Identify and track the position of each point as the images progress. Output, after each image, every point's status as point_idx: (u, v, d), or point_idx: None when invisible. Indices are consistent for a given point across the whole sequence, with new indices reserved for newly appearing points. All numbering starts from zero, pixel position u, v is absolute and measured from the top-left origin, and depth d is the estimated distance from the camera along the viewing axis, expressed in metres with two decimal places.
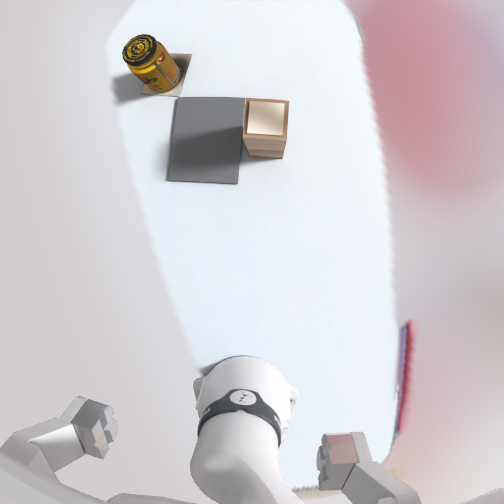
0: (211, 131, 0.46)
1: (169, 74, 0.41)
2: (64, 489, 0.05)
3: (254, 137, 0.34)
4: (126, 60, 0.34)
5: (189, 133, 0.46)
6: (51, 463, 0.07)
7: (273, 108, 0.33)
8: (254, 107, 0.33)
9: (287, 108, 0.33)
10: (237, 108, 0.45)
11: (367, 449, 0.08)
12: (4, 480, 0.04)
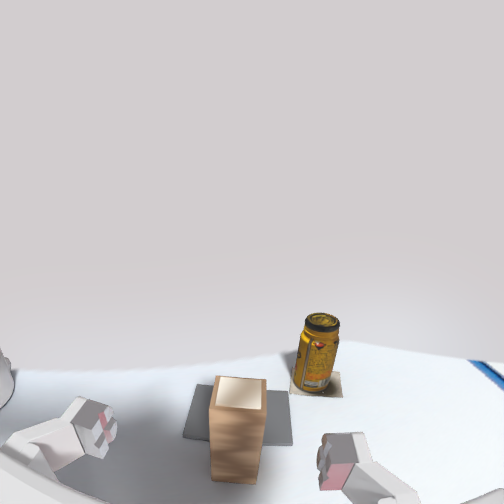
0: None
1: (308, 369, 0.44)
2: (64, 489, 0.05)
3: (215, 384, 0.28)
4: (309, 315, 0.46)
5: None
6: (51, 463, 0.07)
7: (252, 397, 0.26)
8: (253, 383, 0.28)
9: (254, 411, 0.24)
10: (277, 437, 0.35)
11: (367, 449, 0.08)
12: (4, 480, 0.04)
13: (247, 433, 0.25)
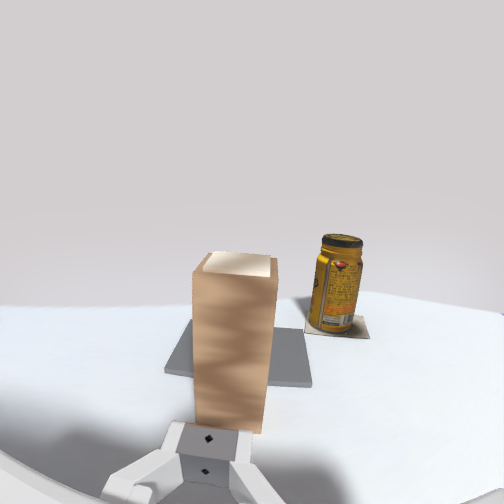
0: None
1: (327, 299, 0.37)
2: (64, 489, 0.05)
3: (206, 258, 0.22)
4: (326, 234, 0.39)
5: None
6: None
7: (258, 265, 0.19)
8: (258, 256, 0.22)
9: (260, 278, 0.18)
10: (291, 375, 0.28)
11: (249, 449, 0.09)
12: (4, 480, 0.04)
13: (249, 324, 0.19)
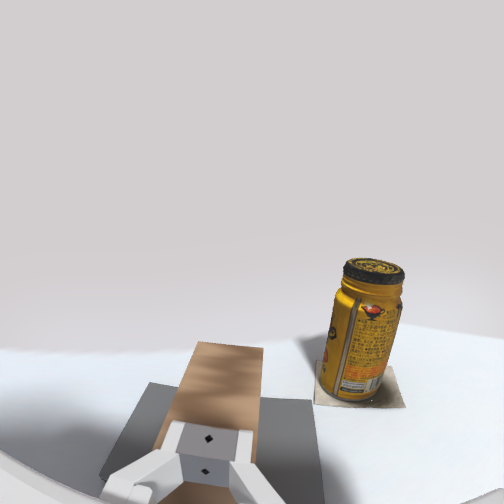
0: None
1: (349, 360, 0.23)
2: (64, 489, 0.05)
3: None
4: (350, 259, 0.26)
5: None
6: None
7: None
8: None
9: None
10: (293, 495, 0.14)
11: (249, 449, 0.09)
12: (4, 480, 0.04)
13: (239, 368, 0.20)
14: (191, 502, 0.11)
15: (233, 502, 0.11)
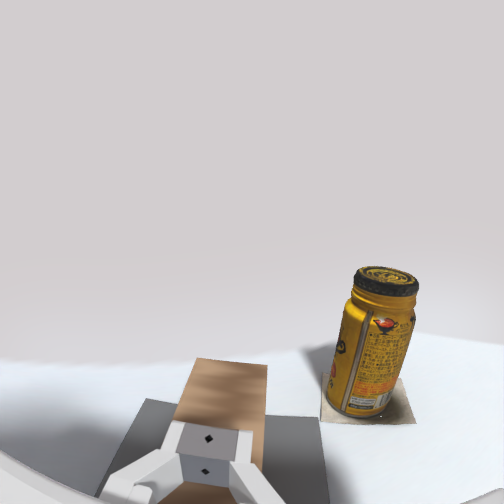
0: None
1: (359, 375, 0.21)
2: (64, 489, 0.05)
3: None
4: (360, 268, 0.24)
5: None
6: None
7: None
8: None
9: None
10: None
11: (249, 449, 0.09)
12: (4, 480, 0.04)
13: (242, 389, 0.18)
14: None
15: None
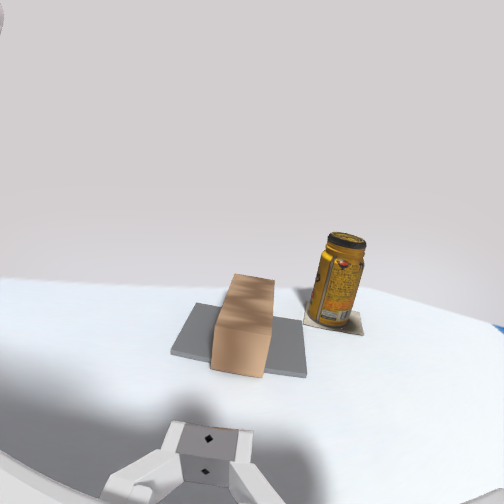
0: None
1: (327, 295, 0.39)
2: (64, 489, 0.05)
3: None
4: (332, 232, 0.41)
5: None
6: None
7: None
8: None
9: None
10: (288, 365, 0.30)
11: (249, 449, 0.09)
12: (4, 480, 0.04)
13: (261, 288, 0.36)
14: (235, 351, 0.27)
15: (259, 349, 0.27)
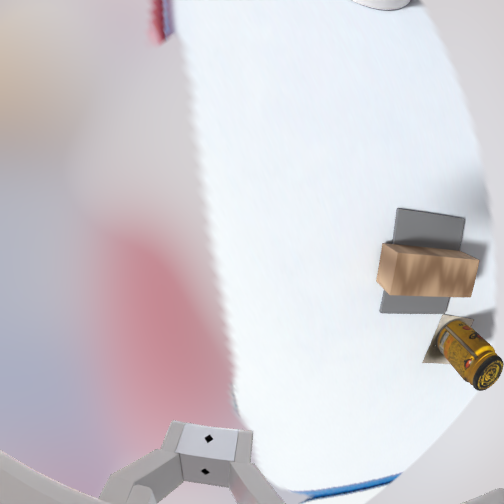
0: None
1: (455, 341, 0.35)
2: (64, 489, 0.05)
3: (464, 253, 0.35)
4: (501, 362, 0.28)
5: None
6: None
7: None
8: None
9: (472, 289, 0.32)
10: (390, 300, 0.38)
11: (249, 449, 0.09)
12: (4, 480, 0.04)
13: (457, 285, 0.32)
14: (387, 265, 0.35)
15: (386, 283, 0.34)
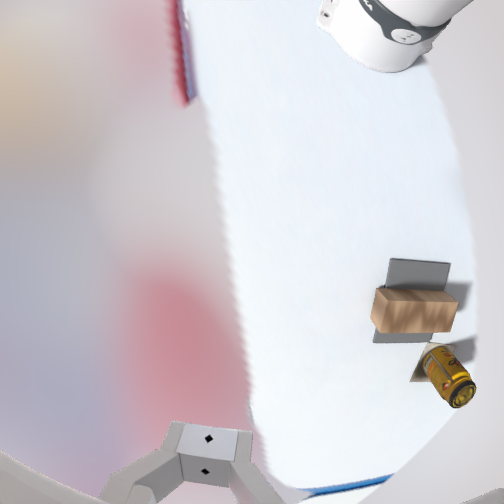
0: None
1: (436, 366, 0.43)
2: (64, 489, 0.05)
3: (447, 294, 0.42)
4: (474, 386, 0.35)
5: None
6: None
7: None
8: None
9: (451, 325, 0.40)
10: (381, 333, 0.46)
11: (249, 449, 0.09)
12: (4, 480, 0.04)
13: (437, 323, 0.39)
14: (379, 307, 0.42)
15: (377, 322, 0.42)
